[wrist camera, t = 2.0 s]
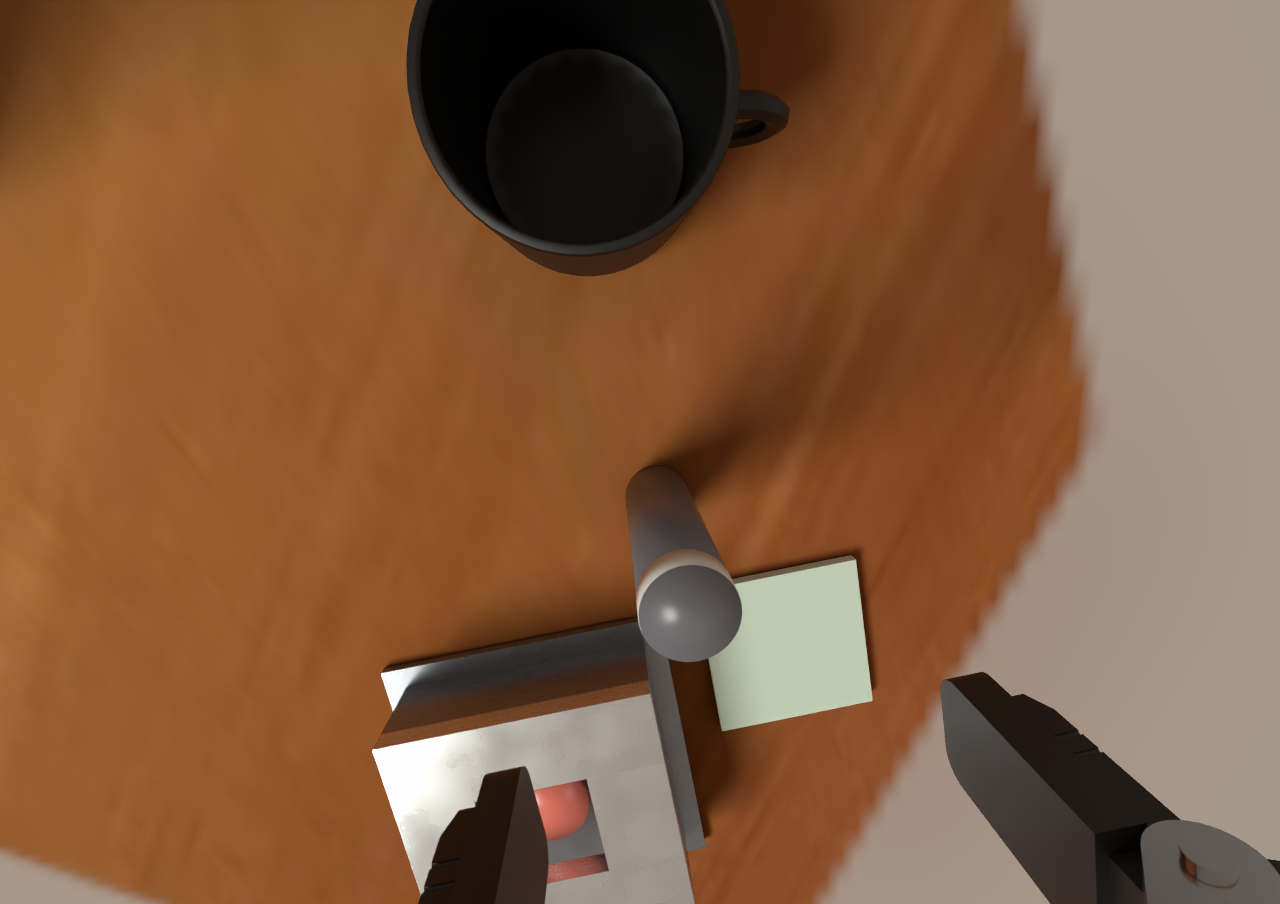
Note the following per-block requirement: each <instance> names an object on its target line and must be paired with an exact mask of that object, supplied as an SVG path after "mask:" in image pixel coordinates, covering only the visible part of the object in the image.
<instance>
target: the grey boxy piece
mask: <svg viewBox="0 0 1280 904" xmlns="http://www.w3.org/2000/svg"><path fill="white" fill-rule="evenodd" d="M381 676H382V679H383V682H384V685H385V688H386V691H387V694H388V697H389V700H390V703H391V707H392V710H393V713H392V715H391V717H390V719H389V720H388V722H387V724H386V726H385V728H384V730H383V731H382V733H381V735H380V737H379V739H378V741H377V742H376V744H375V746H374V748H373V750H372V751H373V754H374V757H375V760H376V763H377V766H378V769H379V772H380V775H381V778H382V781H383V783H384V786H385V789H386V792H387V795H388V798H389V801H390V804H391V807H392V810H393V813H394V816H395V819H396V822H397V825H398V828H399V831H400V834H401V837H402V840H403V843H404V846H405V849H406V852H407V855H408V858H409V861H410V864H411V867H412V870H413V873H414V876H415V879H416V882H417V885H418V888H419V891H420V894H422V893H424V885H425V882H426V878H427V875H428V872H429V869H431V868H432V865H431V863H432V860H433V857H434V854H435V851H436V848H437V844H438V841H439V838H440V836H441V834H442V833H443V832H444V830H445V829H446V827H447V826H448V825H449V823H450V822H451V821H452V819H453V818H454V816H455V815H456V814H457V812H458V811H459V810H463V809H468V808H472V807H475V806H476V802H477V799H478V795H479V791H480V787H481V784H482V780H483V778H484V776H485V775H486V774H488V773H493V772H498V771H502V770H507V769H512V768H517V767H522V766H525V767H526V768H527V770H528V772H529V775H530V778H531V782H532V785H533V789H534V790H536V789H541V788H545V787H550V786H555V785H560V784H565V783H570V782H575V781H580V780H584V779H587V783H588V787H589V791H590V795H589V811H588V814H587V817H586V819H585V821H584V822H583V824H582V825H581V826H580V827H579V828H578V829H577V830H576V831H575V832H574V833H572V834H570V835H569V836H567V837H564V838H562V839H558V840H553V841H547V845H548V859H549V865H548V878H547V888H546V897H545V904H695V898H694V892H693V885H692V879H691V872H690V866H689V859H688V852H687V851H691V850H695V849H700V848H705V847H706V844H705V839H704V834H703V829H702V824H701V819H700V814H699V809H698V804H697V799H696V794H695V789H694V784H693V779H692V774H691V769H690V764H689V759H688V754H687V749H686V744H685V739H684V734H683V729H682V724H681V719H680V714H679V709H678V705H677V700H676V695H675V690H674V685H673V680H672V675H671V670H670V665H669V660H668V658H666V657H664V656H662V655H661V654H659V653H658V652H656V651H655V650H654V649H653V648H652V647H651V646H650V645H649V644H648V643H647V641H646V640H645V638H644V636H643V634H642V632H641V630H640V626H639V622H638V617H634V618H629V619H624V620H619V621H614V622H609V623H604V624H599V625H594V626H589V627H584V628H579V629H575V630H570V631H565V632H560V633H555V634H550V635H545V636H540V637H535V638H530V639H525V640H520V641H515V642H510V643H505V644H500V645H495V646H490V647H485V648H480V649H475V650H471V651H466V652H461V653H456V654H451V655H446V656H441V657H436V658H431V659H426V660H421V661H416V662H411V663H406V664H401V665H396V666H391V667H386V668H384V669H383V671H382V673H381Z"/></svg>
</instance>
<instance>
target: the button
mask: <svg viewBox="0 0 1280 904" xmlns="http://www.w3.org/2000/svg"><path fill="white" fill-rule="evenodd" d="M534 793H535V796H536V800H537V803H538V807H539V811H540V814H541V818H542V821H543V825H544V829H545V833H546V838H547V841H553V840H558V839H562V838H564V837H567V836H569V835H570V834H572V833H574V832H575V831H576V830H577V829H578V828H579V827H580V826H581V825H582V824H583V822H584V821H585V819H586V817H587V814H588V811H589V795H590V791H589V787H588V783H587V779H584V780H580V781H575V782H570V783H565V784H560V785H555V786H550V787H545V788H541V789H536V790H534Z"/></svg>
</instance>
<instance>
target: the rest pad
mask: <svg viewBox="0 0 1280 904" xmlns="http://www.w3.org/2000/svg"><path fill="white" fill-rule="evenodd" d="M732 580H733V582H734V585H735V587H736V589H737V591H738V593H739V596H740V599H741V603H742V619H741V624H740V627H739V630H738V632H737V634H736V636H735V637H734V639H733V640H732V641H731V643H730V644H729V645H728V646H727V647H726V648H725V649H724V650H722V651H721V652H719V653H718V654H716V655H714V656H712V657H710V658H708V662H709V667H710V672H711V678H712V683H713V689H714V694H715V700H716V705H717V710H718V716H719V721H720V726H721V729H722V731H727V730H732V729H737V728H742V727H746V726H751V725H756V724H761V723H766V722H771V721H776V720H781V719H786V718H791V717H795V716H800V715H805V714H810V713H815V712H820V711H825V710H830V709H835V708H839V707H844V706H849V705H854V704H859V703H864V702H869V701H873V700H872V691H871V683H870V674H869V666H868V658H867V649H866V641H865V632H864V624H863V615H862V607H861V599H860V590H859V582H858V573H857V565H856V559H855V558H854V557H853V556H852V555H849V556H844V557H839V558H834V559H829V560H824V561H819V562H814V563H809V564H804V565H799V566H794V567H789V568H784V569H779V570H774V571H769V572H764V573H759V574H754V575H749V576H744V577H739V578H734V579H732Z"/></svg>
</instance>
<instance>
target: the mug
mask: <svg viewBox="0 0 1280 904" xmlns="http://www.w3.org/2000/svg"><path fill="white" fill-rule="evenodd" d="M739 84H740V74H739V62H738V52H737V46H736V41H735V36H734V32H733V27H732V23H731V20H730V17H729V14H728V12H727V9H726V6H725V4H724V1H723V0H417V2H416V5H415V9H414V13H413V17H412V21H411V24H410V28H409V37H408V47H407V87H408V94H409V99H410V104H411V109H412V114H413V118H414V121H415V125H416V128H417V131H418V133H419V136H420V139H421V142H422V145H423V147H424V149H425V151H426V153H427V155H428V157H429V159H430V161H431V163H432V165H433V166H434V168H435V170H436V171H437V173H438V175H439V176H440V178H441V179H442V181H443V182H444V183H445V185H446V186H447V188H448V189H449V190H450V192H451V193H452V194H453V195H454V197H455V198H456V199H457V200H458V201H459V202H460V203H461V204H462V205H463V206H464V207H465V208H466V209H467V210H468V211H469V212H470V213H471V214H472V215H473V216H474V217H476V218H477V219H478V220H479V221H481V222H482V223H483V224H485V225H486V226H487V227H488V228H490V229H491V230H492V231H494V232H495V233H496V234H497V235H499V236H500V237H501V238H503V239H504V240H505V241H506V242H508V243H509V244H510V245H512V246H513V247H514V248H515V249H517V250H518V251H519V252H521V253H522V254H523V255H525V256H526V257H527V258H529V259H531V260H533V261H534V262H536V263H538V264H540V265H542V266H544V267H546V268H549V269H552V270H554V271H557V272H560V273H565V274H570V275H577V276H598V275H606V274H611V273H615V272H618V271H621V270H625V269H627V268H629V267H631V266H633V265H635V264H638V263H639V262H641V261H643V260H644V259H646V258H647V257H649V256H650V255H651V254H653V253H654V252H656V251H657V250H658V249H659V248H660V247H661V246H662V245H663V244H664V243H665V242H666V241H667V239H668V238H669V237H670V236H671V235H672V233H673V232H674V231H675V229H676V228H677V227H678V226H679V224H680V223H681V222H682V220H683V219H684V218H685V217H686V215H687V214H688V213H689V211H690V210H691V209H692V208H693V206H694V205H695V204H696V202H697V201H698V200H699V198H700V197H701V196H702V194H703V193H704V192H705V190H706V189H707V188H708V186H709V185H710V184H711V182H712V180H713V178H714V176H715V175H716V173H717V171H718V169H719V167H720V165H721V163H722V161H723V159H724V156H725V154H726V151H727V148H735V147H741V146H746V145H751V144H754V143H758V142H761V141H763V140H766V139H768V138H770V137H772V136H773V135H775V134H777V133H779V132H780V131H782V130H783V129H784V128H785V127H786V125H787V123H788V117H789V111H790V109H789V107H788V106H787V105H786V104H785V103H784V102H783V101H782V100H781V99H779V98H778V97H777V96H775V95H773V94H770V93H767V92H763V91H755V90H739ZM737 119H754V120H751V121H748V122H744V123H739V124H735V121H737Z"/></svg>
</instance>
